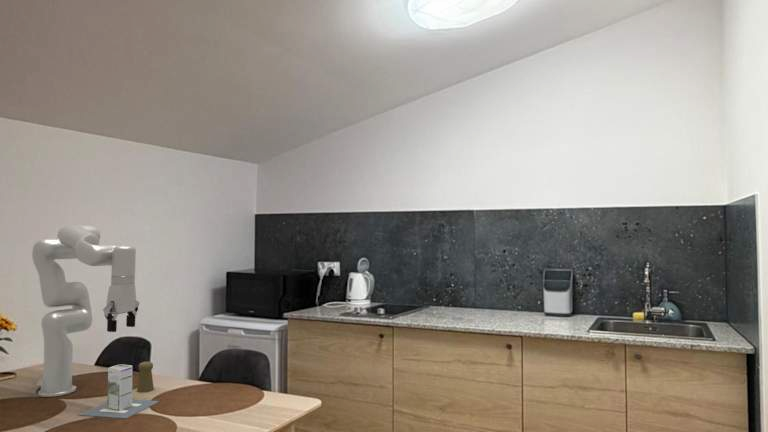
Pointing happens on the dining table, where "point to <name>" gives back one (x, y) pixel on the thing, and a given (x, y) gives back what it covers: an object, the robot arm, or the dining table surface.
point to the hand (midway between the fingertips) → (121, 329)
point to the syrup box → (119, 387)
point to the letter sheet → (125, 413)
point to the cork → (145, 377)
